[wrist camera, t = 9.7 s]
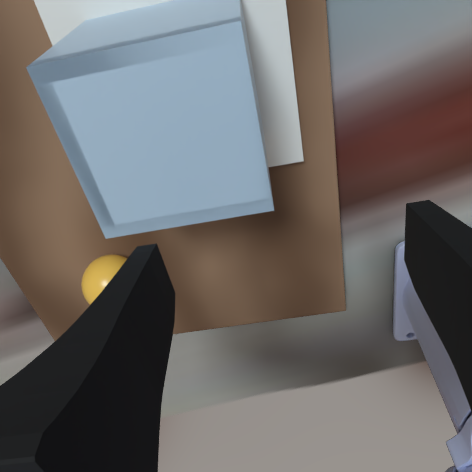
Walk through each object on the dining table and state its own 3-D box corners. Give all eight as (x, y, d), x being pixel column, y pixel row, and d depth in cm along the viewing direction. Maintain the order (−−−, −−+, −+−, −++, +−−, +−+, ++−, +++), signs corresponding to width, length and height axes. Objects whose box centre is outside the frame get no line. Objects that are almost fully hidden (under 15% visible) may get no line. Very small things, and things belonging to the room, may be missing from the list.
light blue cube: (238, -15, 16) (240, 21, 11) (263, 134, 19) (274, 210, 15) (85, 20, 17) (26, 67, 12) (136, 158, 20) (105, 238, 15)
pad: (276, -78, 15) (276, -78, 15) (302, 157, 21) (303, 161, 20) (29, -21, 16) (25, -20, 16) (115, 189, 22) (114, 194, 21)
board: (314, -106, 16) (318, -107, 15) (342, 298, 27) (345, 310, 27) (-146, 2, 18) (-164, 7, 17) (65, 337, 29) (60, 349, 28)
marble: (135, 238, 23) (124, 277, 21) (152, 280, 25) (144, 320, 23) (81, 247, 24) (64, 286, 21) (102, 288, 25) (88, 328, 23)
